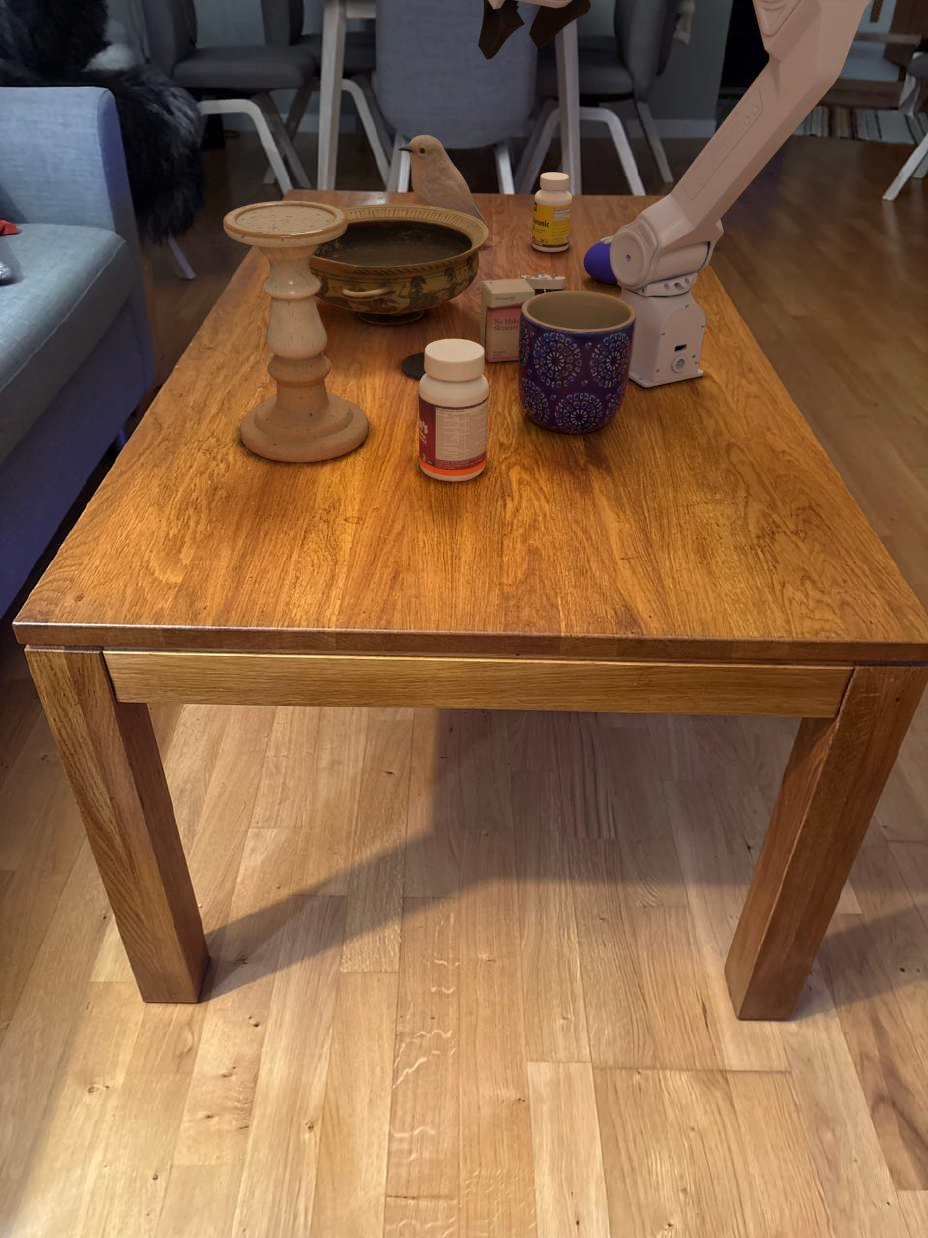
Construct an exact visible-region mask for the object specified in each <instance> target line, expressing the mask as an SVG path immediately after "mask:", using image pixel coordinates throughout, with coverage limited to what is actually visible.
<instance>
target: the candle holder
mask: <svg viewBox="0 0 928 1238" xmlns="http://www.w3.org/2000/svg"><path fill="white" fill-rule="evenodd" d="M338 208H339V207H337V206H334V205H330V204H326V203H321V202H314V201H308V200H307V201H306V200H274V201H273V200H272V201H265V202H263V201H262V202H257V203H253V204H248V205H245V206H241V207H237V208H235V209H233V210H231V211H230V212H228V213H227V214H225V216H224V217H223V220H222V226H223V230H224V232H225V235H226V236H228V238H230V239H232V240H234V241H236V242H239V243H242V244H245V245H249V246H253V247H257V249H258V250H259V252H260V253H261V254H262V255H264V256H265V257H266V258H267V261H268V263H269V268H270V271H269V276H268V277H267V278H266V279H265V280H264V282H263V284H262V289H263V292H264V293H265V294H267V295H268V296H269V297H270V314H269V321H268V325H267V330H266V336H265V341H266V345H267V349H269V351H270V352H271V353H272V354H274V355H273V356H272V358H271V359H270V360H269V362H268V363H267V367H266V370H267V372H268V375H269V377H271V378H273V380H274V381H275V382H276V394H274V395H272V396H270V397H268V398H266V399H265V400H263V401H262V402H261V403H259V404H257V405H255V406H254V407H252V408H251V409H249V411H248V412H246V413H245V415H244V416H243V417H242V419H241V421H240V426H239V434H240V438H241V441H242V443H243V444H244V446H245V447H246V448H247V449H249V451H251V452H252V453H254V454H256V455H257V456H260V457H262V458H266V459H269V460H274V461H278V462H284V463H314V462H322V461H327V460H332V459H335V458H338V457H341V456H343V455H347V454H348V453H350V452H352V451H354V450H356V449H357V448H358V447H359V446H361V444H363V443H364V441H366V439H367V437H368V434H369V429H370V425H369V423H370V422H369V418H368V416H367V414H366V412H365V411H364V410H363V409H362V408H361V407H360V406H358V405H357V404H356V403H354V402H352V401H351V400H348V399H346V398H343V397H341V396H339V395H337V394H335V393H333V392H329V391H327V388H326V382H325V379H326V378H327V377H328V375H329V374H330V372H331V370H332V363H331V361H330V360H329V359H328V357H326V356H325V355H324V353H323V351H324V349H325V348H326V347H327V343H328V335H327V332H326V328H325V326H324V324H323V322H322V319H321V316H320V313H319V309H318V306H317V301H316V296H315V294H316V293H317V292H318V291H319V290H320V287H321V283H320V281H319V280H318V279H317V278H316V277H315V276H314V275H313V274H312V273H311V270H310V259H311V255H312V254H313V253H314V252H315V251H316V250H317V248H318V245H319V244H321V243H325V242H328V241H331V240H333V239H335V238H337V237H339V236H341V235H343V234H344V233H345V232H346V229H347V227H348V219H347V215H346V214H345V213H344V212H343V211H342V210H340V209H338Z"/></svg>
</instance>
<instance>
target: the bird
mask: <svg viewBox="0 0 928 1238" xmlns="http://www.w3.org/2000/svg"><path fill="white" fill-rule="evenodd" d="M397 150H398V151H400V152H408V155H409V159H410V167H411V176H410V177H411V186H412V187H411V188H412V191H413V193H414V195H415V197H416V199H417V201H418V202H419V205H423V206H434V207H439V208H445V209H450V210H454V211H458V212H462V213H466V214H468V215H471V216H473V217H475V218H477V219H479V220H481V221H482V222H483V223H484V224H485V225H486V226H487V228H488V231H489V234H490V233H491V232H492V230H491V229H490V228H489V223H488V222H487V221H486V220H485V215H484V214H483V213H482V211H481V209H480V208H479V206H478V205H477V203H476V202H475V200H474V198H473V195H472V192H471V190H470V188H469V185H468V183H467V181H466V179H465V178H464V176H463V175H462V174H461V172H460V171H459V170H458V169H457V167H456V166H455V165H454V163H453V161H452V160H451V159H450V156H449V155H448V153H447V152H446V149H445V148H444V146H443V143H442V142H441V141H440V140H439V139H437V138H436V137H435V136H432V135H429V134H421V135H416V136H414V137H413V138H412V139H411V140H410V142H409V143H407V144H405V145H403V146H401V147H399V148H398V149H397Z"/></svg>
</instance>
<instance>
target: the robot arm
mask: <svg viewBox="0 0 928 1238" xmlns="http://www.w3.org/2000/svg"><path fill="white" fill-rule="evenodd" d="M519 2H520V3H521V2H522V3H527V4H532V5H538V6H539V9H538V11H537V13H536V14H535V17H534V19H533V22H532V23H531V26H530V29H529V33H528V35H529V36H530V38H531V41H532V42H533V44H534V45H535V47H536V48H537V50H540V49H543V48H544V47H545V46H546V45H547V44H549V42H551V40H553V39H554V38H555V36H557V35H558V34H559V33H560V32H561V31H562V30H563V29H564V28H566V26H568V25H569V24H571V23H572V22H574V21H575V20H577V19H578V18H580V17H582V16H585V15H586V14H588V13H589V11H590V9H591V7H592V4H591V1H590V0H483V15H482V24H481V29H480V34H479V37H478V38H479V39H478V43H477V46H478V48H479V49H480V51H481V53H482V55H483V56H484V58H485V59H486V60H492V59H493V58H494V57H495V56H496V55H497V54H498V53H499V51H500V50H501V48H502V47H503V46H504V44H505V43H506V41H507V40H508V38H509V37H511V35H512V34H513V33H515V32H516V31H518V29H520V28H522V27H523V26H525V25H526V24H525V21H524V19H523V18H522V16H521V15H520V12H518V10H519V5H518V3H519ZM871 2H872V0H752V3H753V8H754V11H755V16H756V19H757V24H758V28H759V32H760V36H761V40H762V44H763V48H764V51H766V52H767V53H768V56H769V59H768V62H767V63H766V65H765V66H764V67H763V69H761V72H759V75H758V76H757V77H756V78H755V80H754V81H753V82H752V83H751V85H749V88H748V89H747V91H746V92H745V93H744V94H743V96H742V97H741V99H740V100H739V101H738V102H737V103H736V105H735V106H734V107H733V108H732V110H731V112H730V113H729V115H728V116H727V117H726V118H725V120H724V121H723V122H722V124H721V125H720V126H719V128H717V130H716V132H715V133H714V135H713V136H712V137H711V138H710V140H708V142H707V144H706V145H705V146H704V148H703V149H702V150H701V152H700V153H699V154H698V156H697V157H696V158H695V159H694V161H693V162H692V164H691V165H690V166H689V167H688V169H687V170H686V172H685V173H684V174H683V176H682V177H681V178H680V179H679V181H678V182H677V183H676V185H675V186H674V188H673V189H672V190H671V191H670V193H669V194H667V195H666V196H664V197H663V198H661V199H659V200H658V201H656V202H654V203H653V204H651V205H650V206H647V208H645V209H644V210H642V211H641V212H640V213H639V214H638V216H637V217H636V218H635V219H634V220H633V221H632V222H630V223H629V224H625V225H622V226H621V227H620V228H619V229H618V230H617V231H616V232H615V233H614V235H613V236H614V237H613V239H612V242H611V246H610V264H611V268H612V271H613V273H614V275H615V277H616V279H617V280H618V284H617V285H618V286H619V287H621V291H620V292H621V293H620V299H621V300H623V301H625V302H627V303H628V304H630V305H631V306H632V307H633V308H634V310H635V311H636V329H635V337H634V345H633V353H632V360H631V366H630V373H629V378H628V379H631V380H632V381H634V382H635V383H636V384H638V385H639V386H641V387H642V388H652V387H657V386H660V385H661V386H662V385H666V384H671V383H675V382H679V381H680V382H681V381H684V380H689V379H694V378H698V377H702V376H704V373H705V371H704V370H703V369H701V368H700V367H699V366H700V362H701V355H702V350H703V343H704V338H705V332H706V328H707V327H706V326H707V316H706V313H705V311H704V309H703V308H702V307H701V305H700V304H698V303H697V302H696V301H695V299H694V297H693V294H692V286H694V285H696V284H697V279H698V274H700V273H701V272H703V271H704V270H705V269H706V268H707V266H708V265H709V263H710V261H711V259H712V256H713V252H714V249H715V246H716V244H717V243H718V241H719V240H720V239H721V237H722V236H723V235H724V233H725V232H724V227H723V223H722V220H721V218H722V217H724V215H725V214H726V213H727V211H728V210H729V209H730V208H731V206H732V205H733V204H735V202H736V201H737V199H738V198H739V197H740V196H741V195H742V193H743V192H744V191H745V190H746V189H747V187H748V186H749V185H750V184H751V183H752V182H753V180H754V179H755V178H756V177H757V176H758V174H760V172H761V171H762V170H763V168H764V167H765V166H766V165H767V164H768V162H769V161H770V160H771V159H772V158H773V157H774V155H775V154H776V153H777V152H778V151H779V150H780V148H781V147H782V146H783V145H784V143H785V142H786V141H787V140H788V139H789V138H790V136H791V135H792V134H793V133H794V132H795V131H796V129H797V128H798V127H799V126H800V125H801V123H802V122H803V121H804V120H805V118H807V116H808V115H809V114H810V113H811V111H812V110H813V109H814V108H815V107H816V106H817V105H818V104H819V102H820V101H821V100H822V98H823V97H824V96H825V95H826V94H827V93H828V91H829V90H830V89H831V88H832V87H833V85H835V83H836V81H837V79H838V78H839V76H840V75H841V73H842V69H843V68H844V65H845V62H846V60H847V57H848V54H849V52H850V49H851V46H852V44H853V41H854V39H855V36H856V33H857V31H858V28H859V25H860V23H861V20H862V17H863V14H864V12H865V10H866V8H867V7H868V6H869V4H870V3H871Z"/></svg>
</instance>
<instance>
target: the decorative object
mask: <svg viewBox="0 0 928 1238" xmlns="http://www.w3.org/2000/svg"><path fill="white" fill-rule="evenodd" d="M613 237H614V235H610V236H606V237H603V238H601V239H600V240H599V241H598V242H597V243H595V244H593V245H591V247H590V248H589V249H588V250H587V251H586V253H584V256H583V260H582V263H583V264H582V265H583V268H584V271H585V272H586V274H587V275H589V277H591V278H592V279H595V280H596V281H599V282H602V283H607V284H613V285H614V284H615V285H616V284H617V285H618V280H617V279H616V277H615V275H614V273H613V271H612V268H611V264H610V246H611V242H612V239H613Z"/></svg>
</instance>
